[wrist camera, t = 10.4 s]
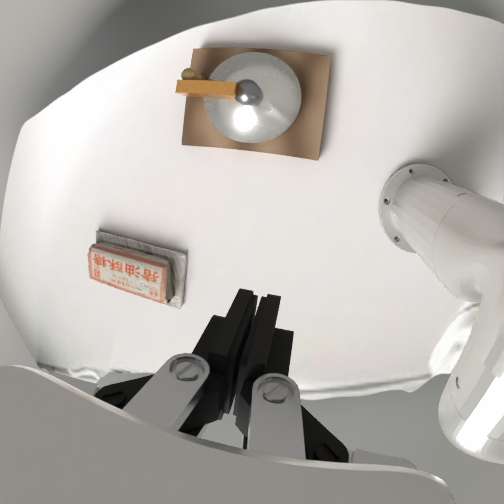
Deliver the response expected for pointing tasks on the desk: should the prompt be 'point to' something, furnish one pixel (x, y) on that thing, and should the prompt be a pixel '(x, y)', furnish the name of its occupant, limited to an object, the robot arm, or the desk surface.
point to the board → (288, 143)
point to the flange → (248, 97)
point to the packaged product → (138, 268)
